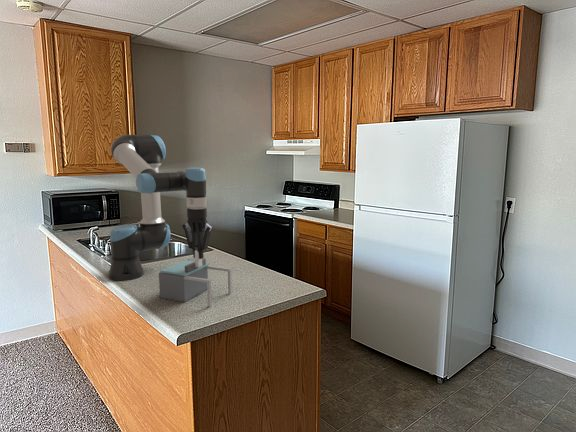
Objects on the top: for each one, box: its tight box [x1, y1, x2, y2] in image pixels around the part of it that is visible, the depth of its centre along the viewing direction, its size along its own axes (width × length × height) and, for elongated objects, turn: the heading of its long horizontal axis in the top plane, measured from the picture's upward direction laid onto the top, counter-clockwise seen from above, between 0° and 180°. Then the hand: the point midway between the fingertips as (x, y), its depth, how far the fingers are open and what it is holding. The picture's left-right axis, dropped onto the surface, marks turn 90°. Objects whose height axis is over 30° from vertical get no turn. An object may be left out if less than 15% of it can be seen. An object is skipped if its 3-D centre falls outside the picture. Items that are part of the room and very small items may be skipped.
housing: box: [158, 265, 233, 308], centre depth 164 cm, size 23×16×10 cm
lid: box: [159, 258, 210, 276], centre depth 165 cm, size 12×16×3 cm
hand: (198, 266), depth 163 cm, fingers closed
